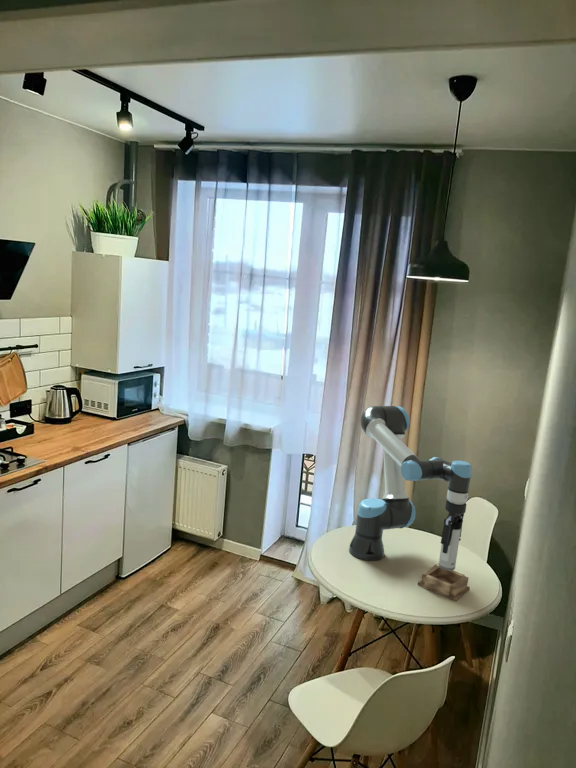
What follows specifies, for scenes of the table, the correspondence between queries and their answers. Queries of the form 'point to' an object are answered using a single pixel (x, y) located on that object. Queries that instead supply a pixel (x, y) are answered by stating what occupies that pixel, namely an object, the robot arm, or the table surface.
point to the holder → (445, 582)
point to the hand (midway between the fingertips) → (448, 557)
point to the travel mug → (452, 548)
